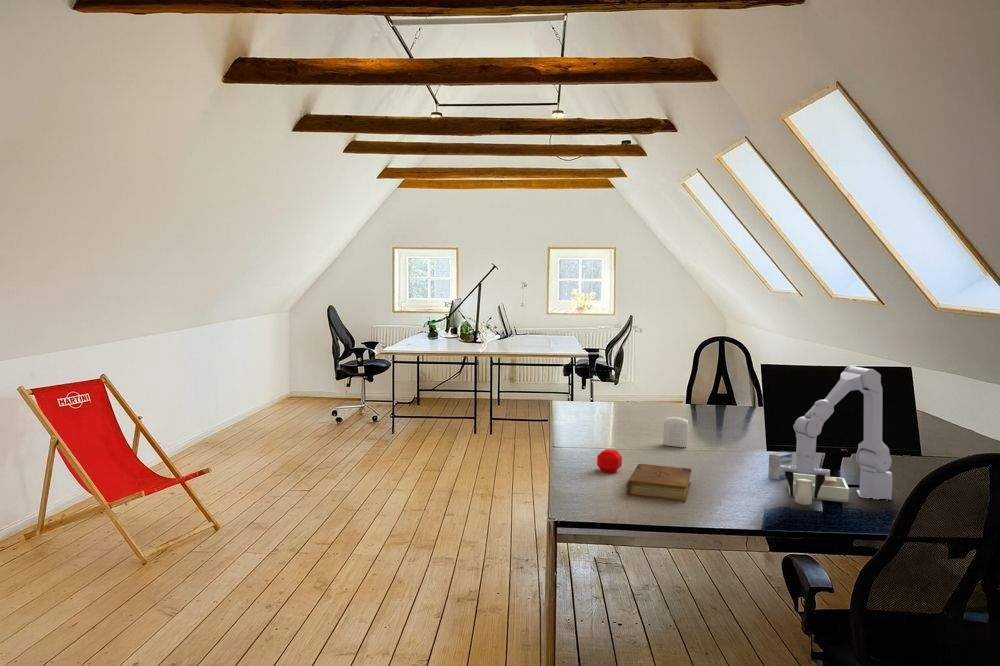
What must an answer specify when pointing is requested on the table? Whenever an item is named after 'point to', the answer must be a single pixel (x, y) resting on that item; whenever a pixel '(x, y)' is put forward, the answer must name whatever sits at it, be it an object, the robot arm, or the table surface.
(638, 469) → the diary
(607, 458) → the ball
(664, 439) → the white rounded block
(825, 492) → the tote
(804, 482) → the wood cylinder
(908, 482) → the table surface
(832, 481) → the oak cube
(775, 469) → the medicine box
